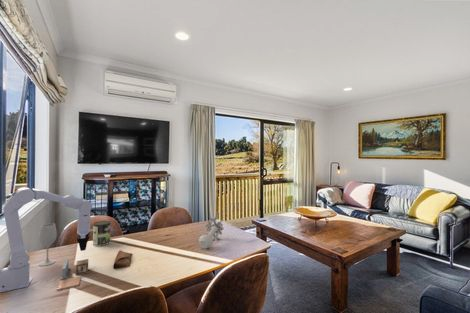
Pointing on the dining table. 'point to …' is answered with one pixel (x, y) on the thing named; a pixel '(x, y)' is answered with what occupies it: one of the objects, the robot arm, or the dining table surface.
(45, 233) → the wineglass
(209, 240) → the flower vase
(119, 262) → the sunglasses case
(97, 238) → the coffee can
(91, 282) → the dining table surface
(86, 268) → the brown cube
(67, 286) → the coaster
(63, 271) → the grey block with tabs
